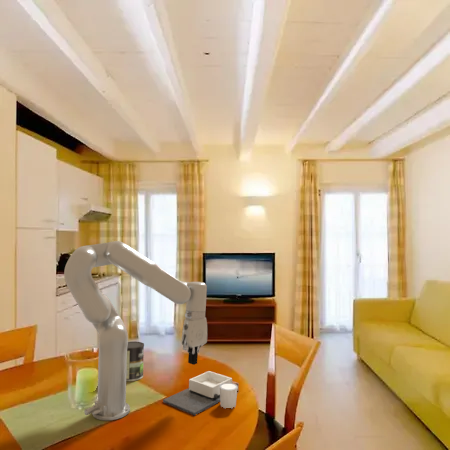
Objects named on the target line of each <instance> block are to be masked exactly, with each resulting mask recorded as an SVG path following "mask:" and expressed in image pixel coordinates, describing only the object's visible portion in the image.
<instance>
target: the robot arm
mask: <svg viewBox="0 0 450 450" xmlns="http://www.w3.org/2000/svg"><path fill="white" fill-rule="evenodd" d="M110 265H113V266H115V267H116V268H118V269H119V270H120V271H123V272H124V273H126V274H128V275H129V276H131V277H132V278H133V279H135V280H136V281H138V282H139V283H141V284H142V285H144V286H147V287H149V288H150V289H153V290H154V291H155V292H157V293H158V294H160V295H162V296H163V297H165V298H166V299H167V300H170V301H171V302H172V303H174V304H177V305H184V304H185V313H184V321H183V325H182V331H181V344H182V346H183V347H182V350H184V351H186V352H187V353H188V359H187V360H188V362H187V363H188V364H191V365H197V364H198V354H199V352H200V349H201V348H202V347H203V346H204V345H205V344H207V343H208V322H207V321H208V320H207V317H206V309H207V308H206V306H207V288H208V286H207V284H206V283H205V282H202V281H190V282H189V281H183V280H179V279H177V278H176V277H175V276H173V275H171V274H170V273H169V272H167V271H166V270H165V269H163V268H161V267H160V266H159V265H158V264H157V263H156V262H154V261H153V260H151V259H150V258H148V257H146V256H145V255H143V254H142V253H140V252H139V251H137V250H136V249H135V248H133V247H131V246H130V245H128V244H127V243H125V242H123V241H120V240H114V241H110V242H103V243H96V244H90V245H89V244H88V245H83V246H82V245H81V246H78V247H77V248H76V249H75V250H74V251H73V252H72V254H71V255H70V256H69V258H68V260H67V262H66V264H65V267H64V273H63V274H64V275H63V276H64V282H65V284H66V287H67V288H68V290H69V292H70V294H71V295H72V297H73V299H74V301H75V302H76V304H77V305H78V307H79V308H80V310H81V312H82V314H83V316H84V318H85V319H86V320H87V321H88V322H89V323H91V324H92V325H93V327H94V329H95V331H96V332H97V334H98V361H97V362H98V367H97V369H98V371H97V373H98V374H97V400H96V401H94V405H92V406H91V407H88V408H86V409H84V410H83V412H84V415H85V416H88V415H91V414H92V416H93V418H95V419H97V420H100V421H113V420H114V421H115V420H118V419H119V420H120V419H122V418H123V417H125V416H127V415H128V414H129V413H130V411H131V406H130V405H129V403H128V402H127V401H126V399H127V381H126V362H127V345H128V342H129V335H128V334H129V333H128V331H127V327H126V325H125V322H124V321H123V319H122V318H121V316H120V314H119V313H118V311H117V310H116V307H114V305H113V303H112V301H111V300H110V299H109V297H108V296H107V295H106V294H104V293H102V291H101V289H100V288H99V286H98V284H97V283H96V281H95V279H94V277H93V276H92V270H93V269H94V268H98V267H105V266H110Z"/></svg>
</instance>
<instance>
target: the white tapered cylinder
mask: <svg viewBox="0 0 450 450" xmlns="http://www.w3.org/2000/svg"><path fill="white" fill-rule="evenodd" d="M219 389H220V402H219V403H220V407H221V408H222V407H223V409H226V408H231V409H234V408H236V406H237V396H238V392H237V389H238V387H237V385H236V384H233V383H223V384H221V385H220V386H219ZM238 390H239V389H238ZM233 407H234V408H233Z"/></svg>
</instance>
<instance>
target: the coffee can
mask: <svg viewBox="0 0 450 450" xmlns="http://www.w3.org/2000/svg"><path fill="white" fill-rule="evenodd" d="M144 347H145V343H144V342H141V341H128V345H127V362H126V382H135V381H139V380H141V379H143V377H144V358H145V357H144V356H145V355H144V354H145V352H144V351H145V350H144Z"/></svg>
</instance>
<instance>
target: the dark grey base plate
mask: <svg viewBox="0 0 450 450" xmlns="http://www.w3.org/2000/svg"><path fill="white" fill-rule="evenodd" d="M232 383H233V384H236V385H237V387H238V389H237V391H238V392H239V389H240V388H239V382H236V381H233V380H232ZM162 402H163V404H166V405H168V406H171V407H173V408H176V409H178V410H180V411H183V412H185V413H187V414H189V415H192V416H197V415H199V414H201V413H202V412H205V411H206V410H207V409H210V408H212V407H213V406H215V405H216V404H219V403H220V395H218V397H217V398H215V397H214V398H210V397H208V396H205V395H202V394H199V393H197V392H194V391H191V390H189V387H188V388H186V389H183V390H182V391H178V392H177V393H175V394H173V395H170V396H169V397H165V398H163V399H162ZM218 402H219V403H218ZM200 412H201V413H200ZM198 413H199V414H198ZM196 414H197V415H196Z"/></svg>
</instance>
